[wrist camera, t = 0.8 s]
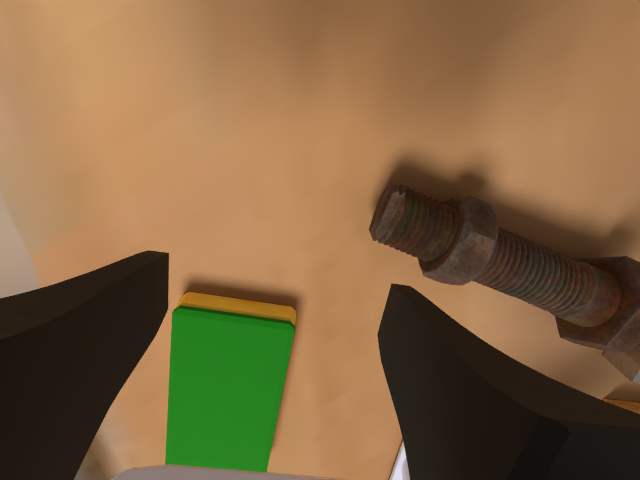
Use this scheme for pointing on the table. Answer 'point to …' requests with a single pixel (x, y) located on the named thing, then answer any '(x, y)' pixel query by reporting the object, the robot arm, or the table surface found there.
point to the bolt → (514, 266)
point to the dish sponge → (226, 380)
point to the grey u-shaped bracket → (626, 362)
